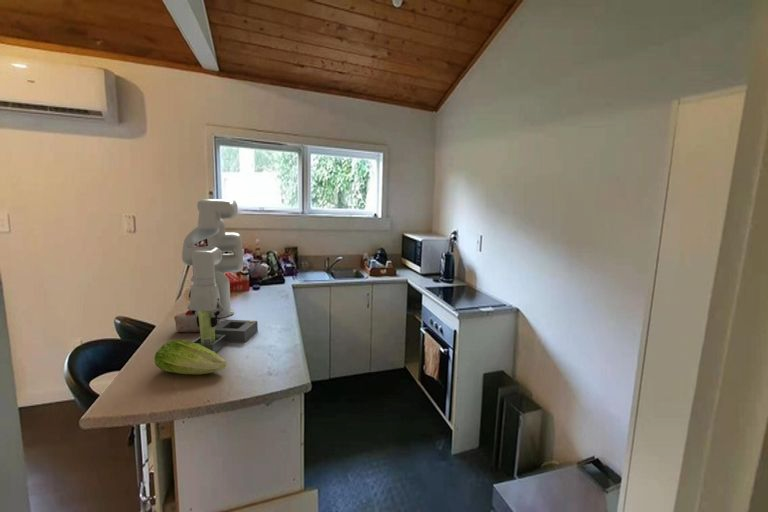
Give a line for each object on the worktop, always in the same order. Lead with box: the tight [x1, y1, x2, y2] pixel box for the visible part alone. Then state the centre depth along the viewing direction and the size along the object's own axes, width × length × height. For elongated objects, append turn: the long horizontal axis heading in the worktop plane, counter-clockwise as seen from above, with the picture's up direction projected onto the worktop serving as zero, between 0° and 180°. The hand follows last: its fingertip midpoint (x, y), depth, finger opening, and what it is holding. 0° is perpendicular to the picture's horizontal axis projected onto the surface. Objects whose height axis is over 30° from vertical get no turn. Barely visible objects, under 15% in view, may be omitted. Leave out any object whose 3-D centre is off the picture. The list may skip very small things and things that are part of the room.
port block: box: [215, 319, 259, 344], centre depth 156 cm, size 15×13×5 cm
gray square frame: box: [191, 334, 228, 354], centre depth 142 cm, size 10×11×4 cm
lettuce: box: [154, 339, 227, 375], centre depth 123 cm, size 12×24×13 cm
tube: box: [196, 303, 215, 344], centre depth 141 cm, size 6×5×20 cm
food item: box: [173, 309, 200, 333], centre depth 161 cm, size 14×8×10 cm, turn 97°
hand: (207, 325), depth 141 cm, fingers closed on tube, 4 cm apart
